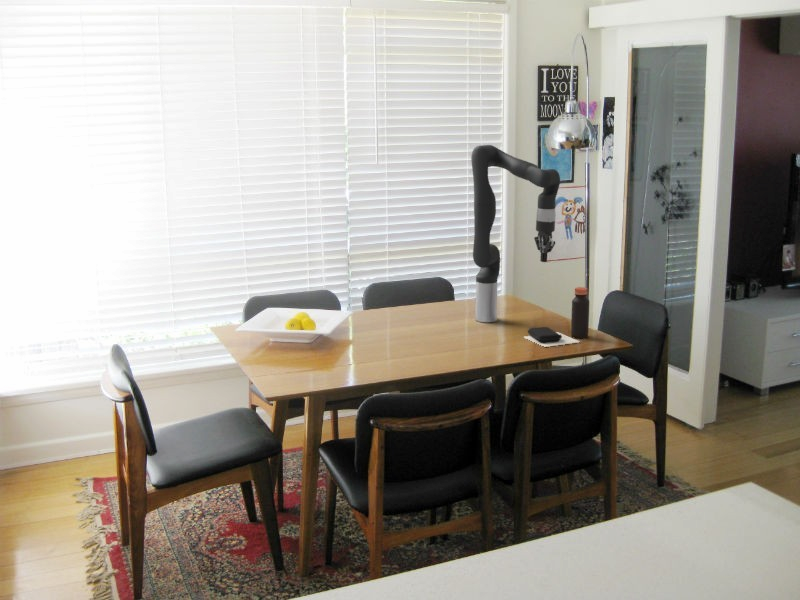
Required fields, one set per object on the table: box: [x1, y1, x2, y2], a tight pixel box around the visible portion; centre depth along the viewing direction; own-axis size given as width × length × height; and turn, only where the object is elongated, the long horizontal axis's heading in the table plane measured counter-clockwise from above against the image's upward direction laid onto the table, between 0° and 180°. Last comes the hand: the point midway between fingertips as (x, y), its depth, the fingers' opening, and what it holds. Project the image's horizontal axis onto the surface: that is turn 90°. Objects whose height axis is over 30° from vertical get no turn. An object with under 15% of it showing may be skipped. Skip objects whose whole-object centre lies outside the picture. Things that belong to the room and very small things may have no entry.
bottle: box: [570, 286, 590, 340], centre depth 338 cm, size 7×7×20 cm
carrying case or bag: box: [527, 326, 562, 343], centre depth 337 cm, size 11×3×15 cm
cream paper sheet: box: [523, 331, 581, 348], centre depth 336 cm, size 16×16×1 cm
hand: (543, 261), depth 343 cm, fingers closed
